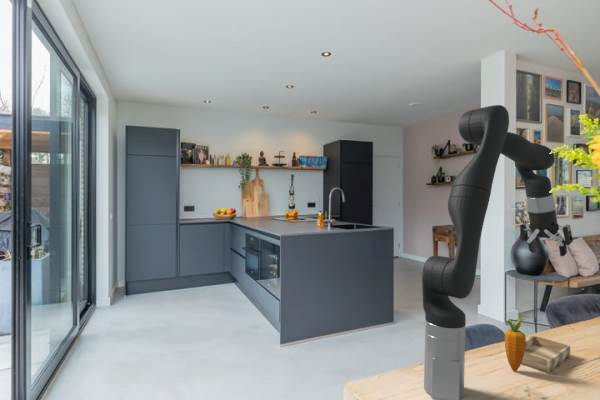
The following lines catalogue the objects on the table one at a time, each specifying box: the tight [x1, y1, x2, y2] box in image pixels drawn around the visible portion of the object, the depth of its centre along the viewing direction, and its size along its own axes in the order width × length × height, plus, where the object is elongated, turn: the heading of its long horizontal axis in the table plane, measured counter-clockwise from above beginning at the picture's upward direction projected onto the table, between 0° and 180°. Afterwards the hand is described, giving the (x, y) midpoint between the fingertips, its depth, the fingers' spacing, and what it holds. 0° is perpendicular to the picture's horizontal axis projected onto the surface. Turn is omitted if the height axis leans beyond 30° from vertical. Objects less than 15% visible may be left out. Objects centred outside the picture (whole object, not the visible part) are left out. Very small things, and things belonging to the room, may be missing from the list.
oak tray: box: [521, 335, 571, 375], centre depth 106 cm, size 18×10×4 cm, turn 127°
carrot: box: [504, 317, 526, 372], centre depth 98 cm, size 5×5×15 cm
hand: (548, 253), depth 117 cm, fingers open, 8 cm apart
